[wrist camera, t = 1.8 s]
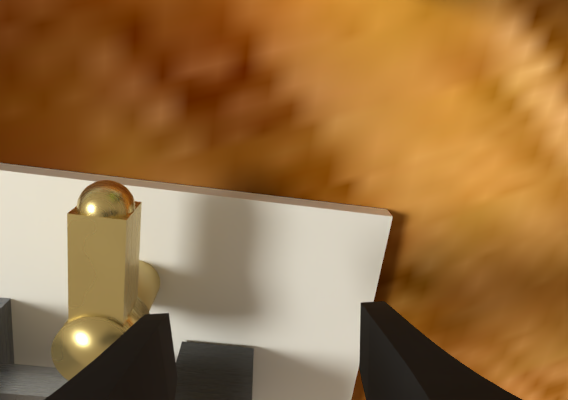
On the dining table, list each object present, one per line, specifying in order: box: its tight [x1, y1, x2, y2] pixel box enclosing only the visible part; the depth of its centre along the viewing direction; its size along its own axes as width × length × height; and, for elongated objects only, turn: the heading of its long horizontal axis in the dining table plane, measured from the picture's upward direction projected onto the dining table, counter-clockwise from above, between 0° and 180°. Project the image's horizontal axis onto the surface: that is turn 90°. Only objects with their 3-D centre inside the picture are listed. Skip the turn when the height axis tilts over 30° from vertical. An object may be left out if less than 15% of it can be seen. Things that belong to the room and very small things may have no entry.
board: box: [0, 163, 393, 400], centre depth 20 cm, size 22×16×4 cm
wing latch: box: [51, 180, 150, 381], centre depth 15 cm, size 3×7×2 cm, turn 172°
